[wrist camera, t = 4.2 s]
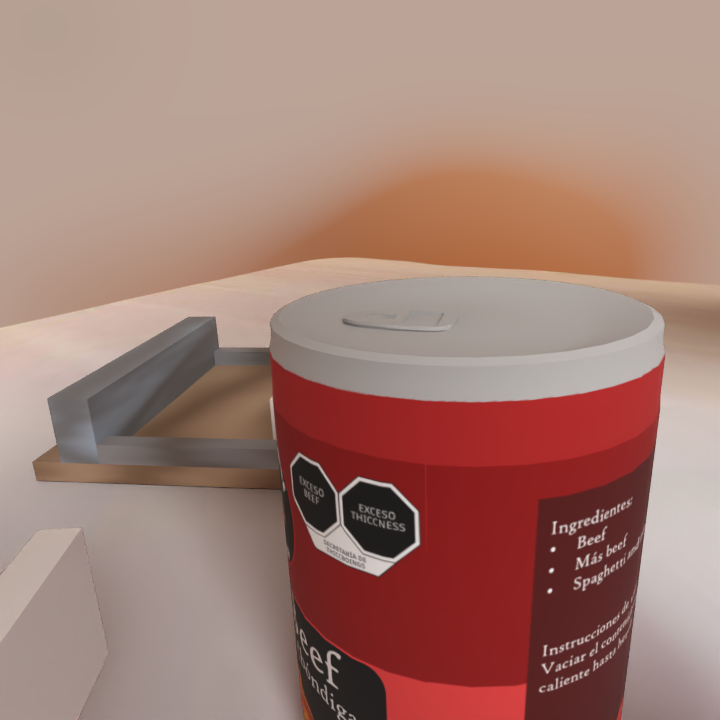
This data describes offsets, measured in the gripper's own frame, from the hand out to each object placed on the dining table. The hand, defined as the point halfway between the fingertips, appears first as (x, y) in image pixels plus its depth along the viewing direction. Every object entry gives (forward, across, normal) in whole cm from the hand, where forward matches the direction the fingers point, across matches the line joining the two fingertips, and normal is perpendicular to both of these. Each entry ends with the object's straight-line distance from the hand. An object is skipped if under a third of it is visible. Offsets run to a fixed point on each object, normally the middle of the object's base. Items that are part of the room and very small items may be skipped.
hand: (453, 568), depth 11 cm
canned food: (+3, +1, -7) cm, 8 cm away
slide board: (+23, -2, -7) cm, 24 cm away
